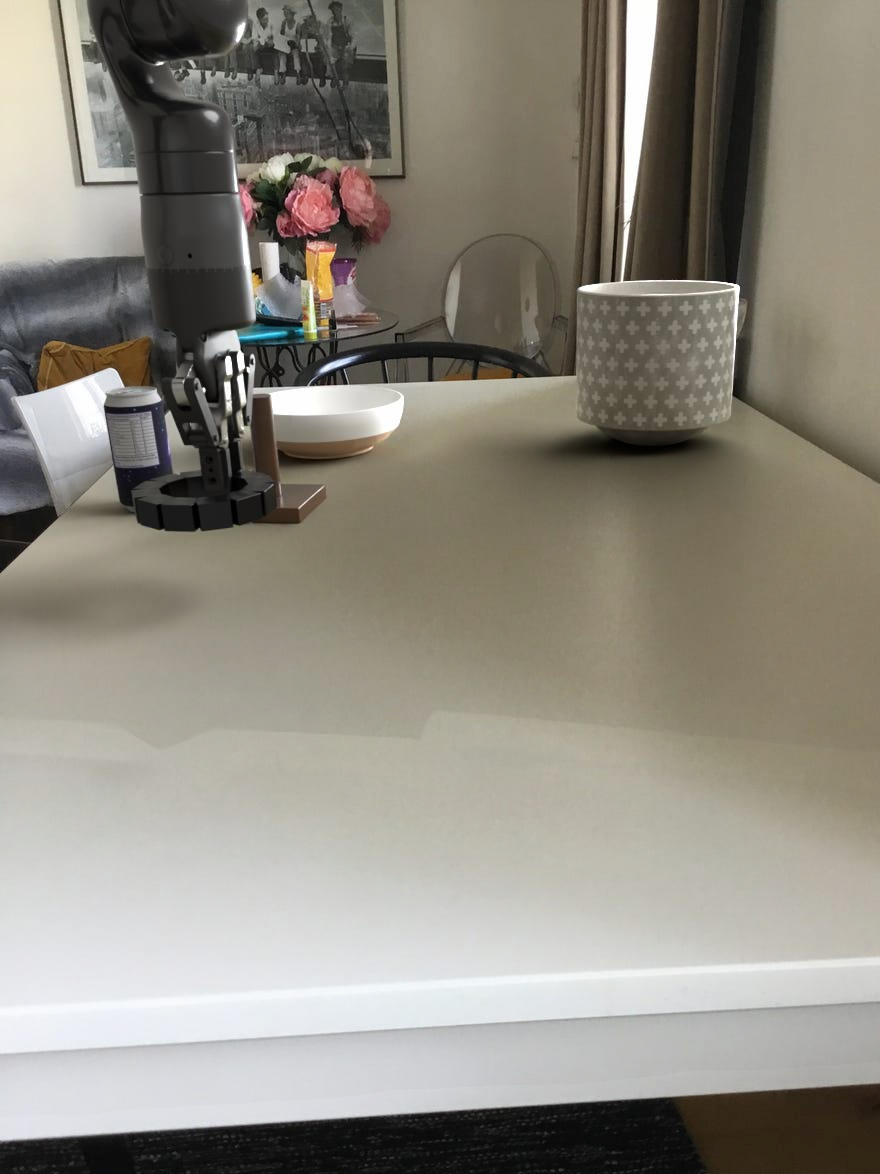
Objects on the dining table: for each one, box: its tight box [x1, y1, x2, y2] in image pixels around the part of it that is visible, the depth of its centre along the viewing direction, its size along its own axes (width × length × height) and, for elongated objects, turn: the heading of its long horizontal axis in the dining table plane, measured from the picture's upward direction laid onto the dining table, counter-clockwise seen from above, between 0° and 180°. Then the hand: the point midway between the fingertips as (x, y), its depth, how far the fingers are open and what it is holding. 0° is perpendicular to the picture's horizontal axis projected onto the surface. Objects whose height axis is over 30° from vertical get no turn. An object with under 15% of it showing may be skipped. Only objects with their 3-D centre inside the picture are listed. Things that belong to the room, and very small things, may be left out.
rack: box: [249, 393, 327, 524], centre depth 105 cm, size 9×9×12 cm
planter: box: [575, 280, 740, 447], centre depth 129 cm, size 19×19×18 cm
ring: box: [131, 469, 277, 533], centre depth 80 cm, size 10×10×2 cm
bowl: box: [268, 385, 404, 460], centre depth 131 cm, size 20×20×6 cm
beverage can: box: [103, 385, 174, 513], centre depth 107 cm, size 6×6×12 cm
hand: (225, 489), depth 84 cm, fingers closed on ring, 2 cm apart
